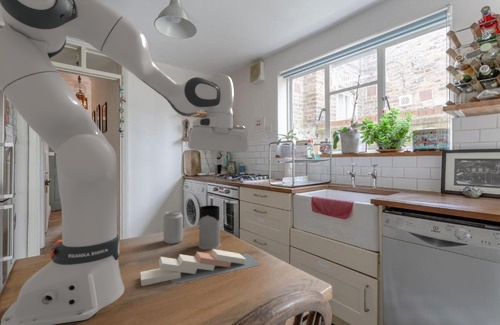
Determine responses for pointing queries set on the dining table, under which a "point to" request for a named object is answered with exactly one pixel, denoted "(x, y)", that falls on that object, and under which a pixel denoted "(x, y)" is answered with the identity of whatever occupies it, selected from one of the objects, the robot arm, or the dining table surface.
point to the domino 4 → (210, 260)
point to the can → (173, 227)
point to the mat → (217, 270)
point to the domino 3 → (193, 263)
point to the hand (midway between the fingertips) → (218, 164)
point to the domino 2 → (174, 265)
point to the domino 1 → (158, 276)
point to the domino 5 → (228, 256)
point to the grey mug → (209, 227)
